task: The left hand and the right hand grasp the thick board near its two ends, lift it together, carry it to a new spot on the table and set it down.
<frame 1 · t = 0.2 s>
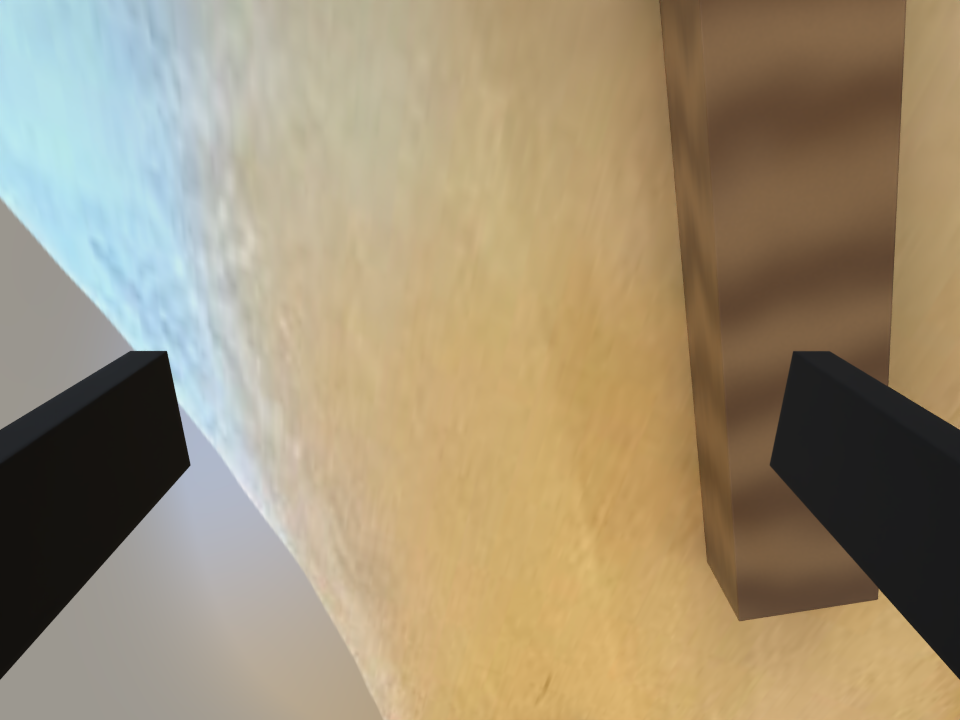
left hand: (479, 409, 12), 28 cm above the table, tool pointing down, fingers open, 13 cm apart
thick board: (755, 250, 39), on the table
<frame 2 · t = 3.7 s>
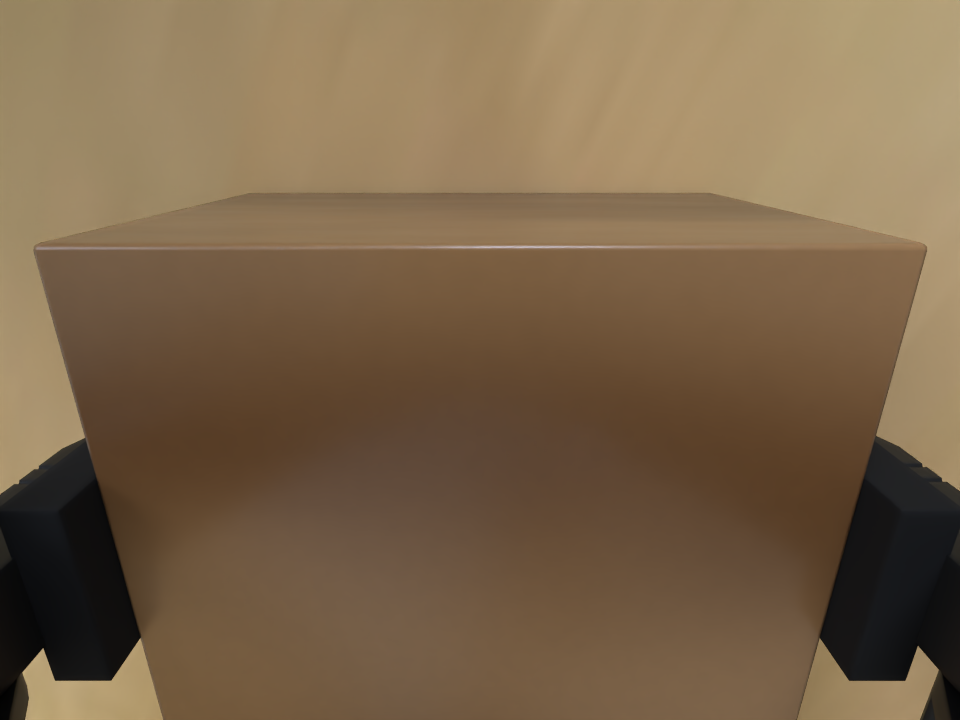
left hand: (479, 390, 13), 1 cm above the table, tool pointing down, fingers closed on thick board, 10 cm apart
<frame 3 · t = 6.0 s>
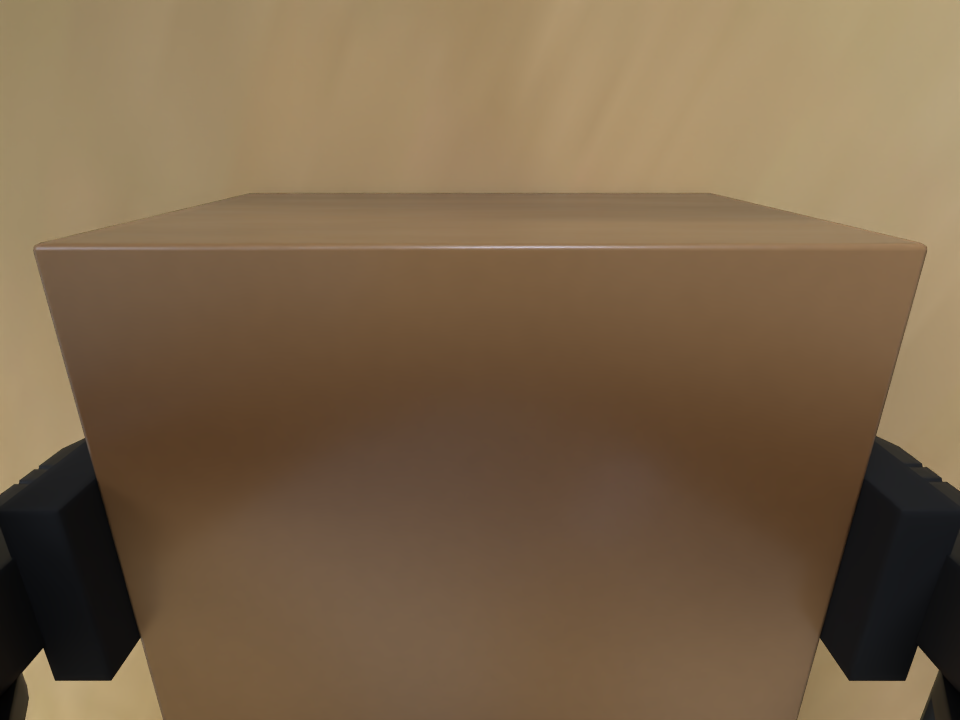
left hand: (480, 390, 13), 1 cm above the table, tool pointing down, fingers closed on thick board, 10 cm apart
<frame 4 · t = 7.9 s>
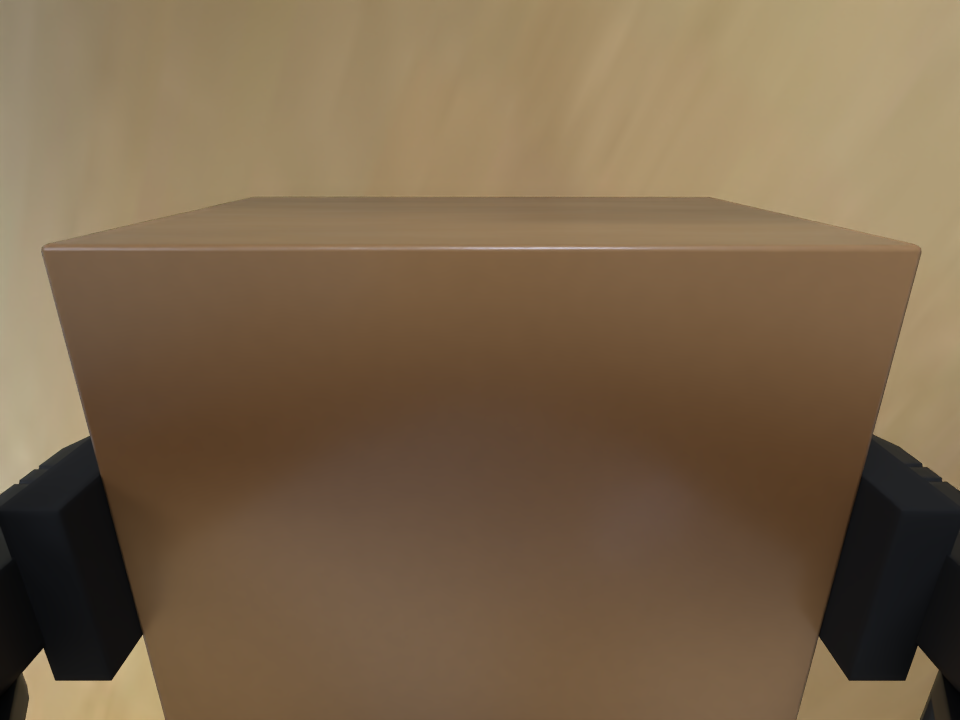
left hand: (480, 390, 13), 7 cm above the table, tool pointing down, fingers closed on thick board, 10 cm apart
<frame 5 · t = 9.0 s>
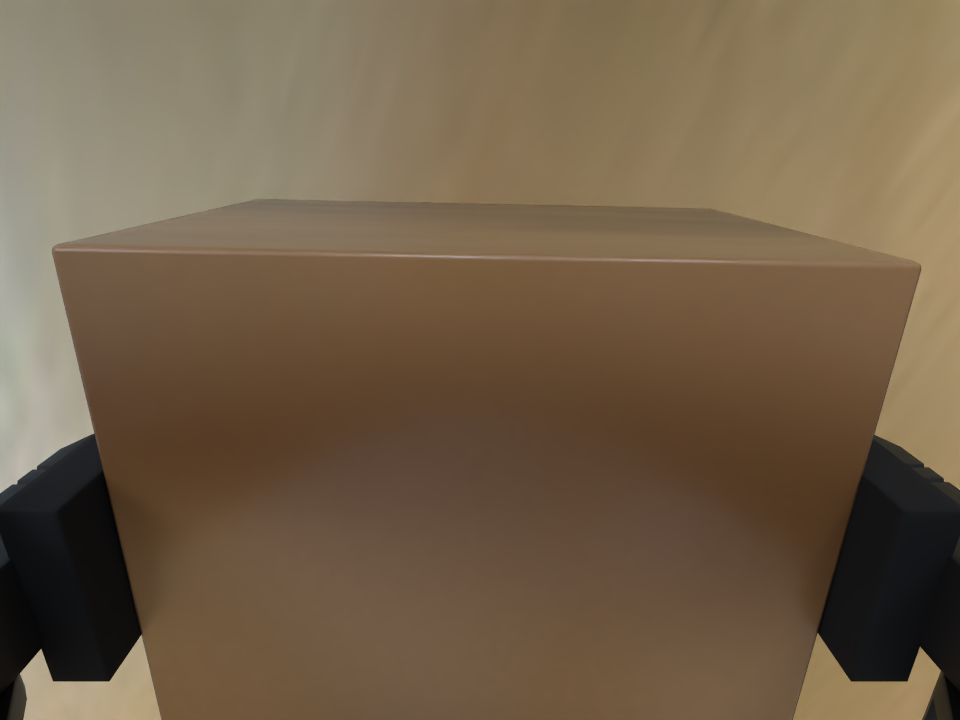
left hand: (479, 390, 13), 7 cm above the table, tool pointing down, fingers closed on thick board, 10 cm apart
when the left hand's fingers open (2 cm above the table, at t = 12.2 s): thick board drops 1 cm, on the table.
when the right hand's fingers open (2 cm above the table, at t = 12.2 s): thick board drops 1 cm, on the table.
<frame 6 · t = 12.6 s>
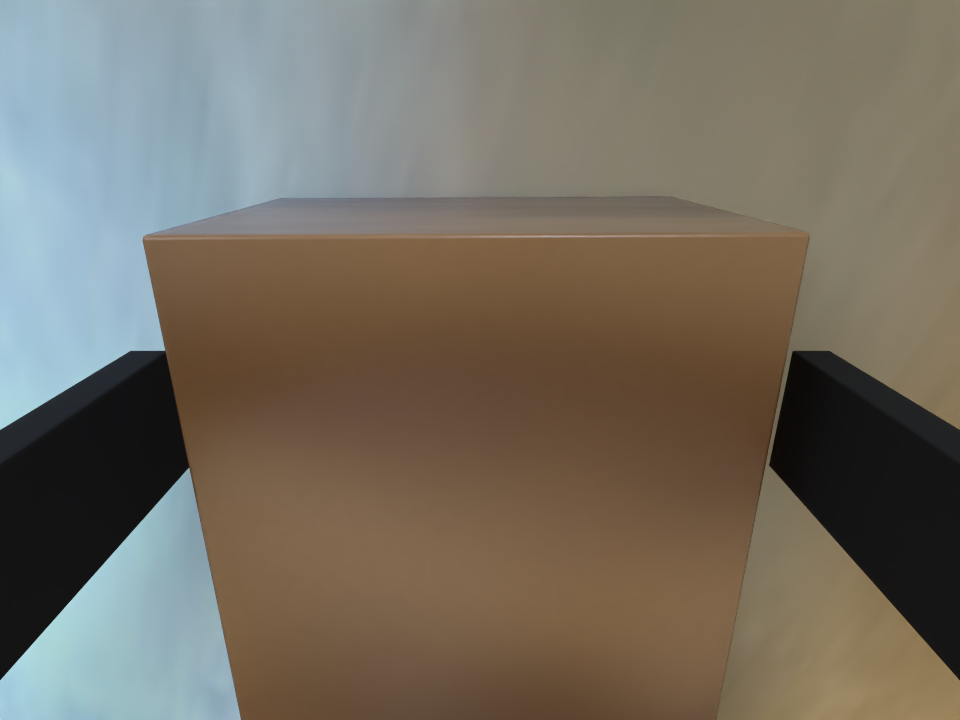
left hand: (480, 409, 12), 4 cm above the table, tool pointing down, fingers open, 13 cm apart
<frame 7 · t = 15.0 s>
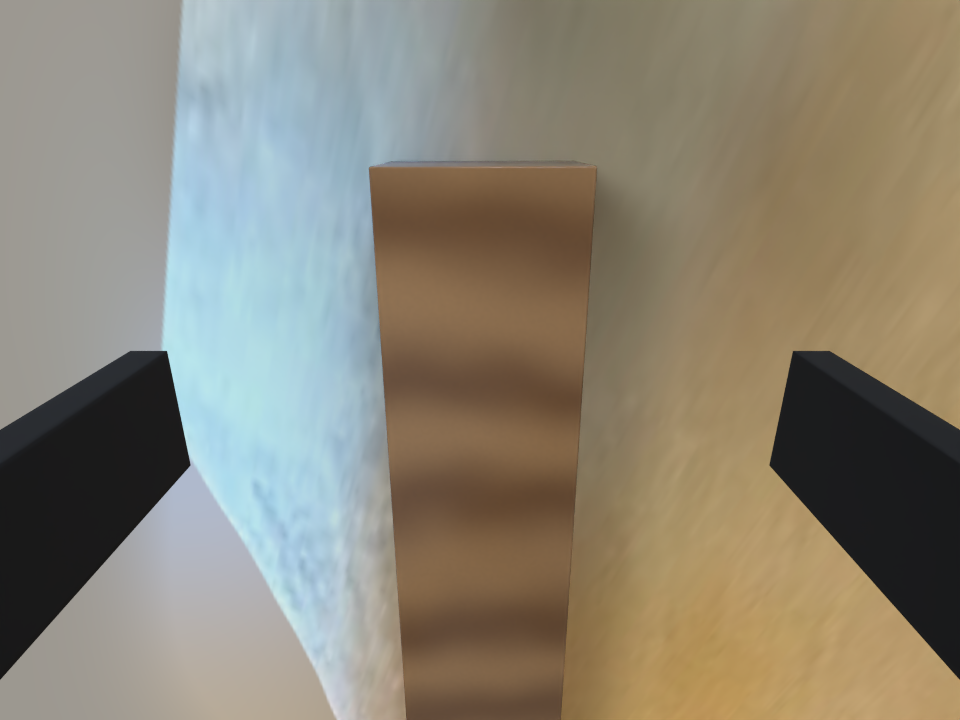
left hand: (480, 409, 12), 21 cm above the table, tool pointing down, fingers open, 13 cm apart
thick board: (482, 549, 40), on the table
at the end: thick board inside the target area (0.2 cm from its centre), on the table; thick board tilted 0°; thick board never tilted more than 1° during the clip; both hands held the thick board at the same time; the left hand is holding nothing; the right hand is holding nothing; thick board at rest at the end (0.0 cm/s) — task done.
